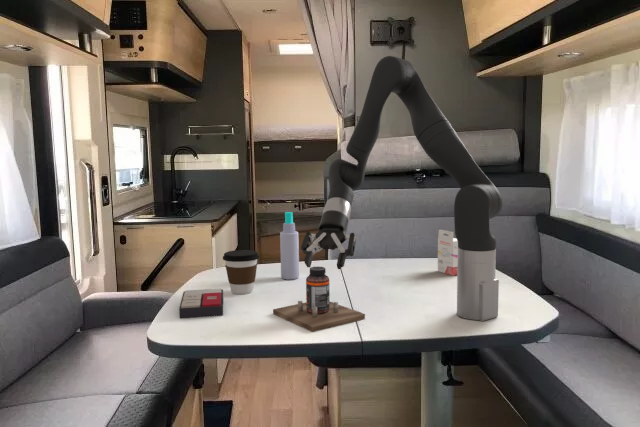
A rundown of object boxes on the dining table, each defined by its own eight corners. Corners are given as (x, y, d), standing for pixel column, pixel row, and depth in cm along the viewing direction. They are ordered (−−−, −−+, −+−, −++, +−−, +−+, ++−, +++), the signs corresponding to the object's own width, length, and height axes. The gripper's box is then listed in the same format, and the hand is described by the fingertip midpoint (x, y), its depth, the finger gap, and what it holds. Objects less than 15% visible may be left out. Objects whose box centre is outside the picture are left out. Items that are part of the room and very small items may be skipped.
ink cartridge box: (464, 274, 183) (465, 231, 181) (452, 276, 181) (453, 232, 179) (448, 269, 191) (448, 227, 189) (436, 271, 188) (437, 229, 187)
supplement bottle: (305, 308, 142) (305, 265, 141) (328, 307, 142) (328, 265, 141) (307, 315, 136) (306, 270, 135) (330, 314, 136) (330, 270, 135)
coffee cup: (219, 290, 167) (217, 251, 165) (252, 285, 172) (251, 248, 170) (230, 298, 157) (229, 257, 156) (265, 293, 162) (264, 253, 160)
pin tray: (364, 318, 136) (364, 304, 136) (312, 331, 127) (312, 316, 127) (322, 303, 151) (322, 290, 151) (273, 313, 142) (272, 299, 141)
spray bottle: (292, 280, 177) (291, 213, 175) (277, 278, 180) (275, 213, 178) (302, 277, 182) (301, 211, 180) (287, 275, 185) (286, 211, 183)
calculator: (178, 306, 138) (183, 288, 153) (179, 322, 139) (184, 303, 154) (222, 303, 140) (222, 286, 155) (223, 319, 141) (223, 301, 156)
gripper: (308, 208, 151) (293, 257, 141) (357, 209, 146) (346, 259, 136) (314, 225, 156) (301, 273, 147) (362, 226, 151) (352, 276, 142)
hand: (323, 266), depth 142 cm, fingers open, 8 cm apart
